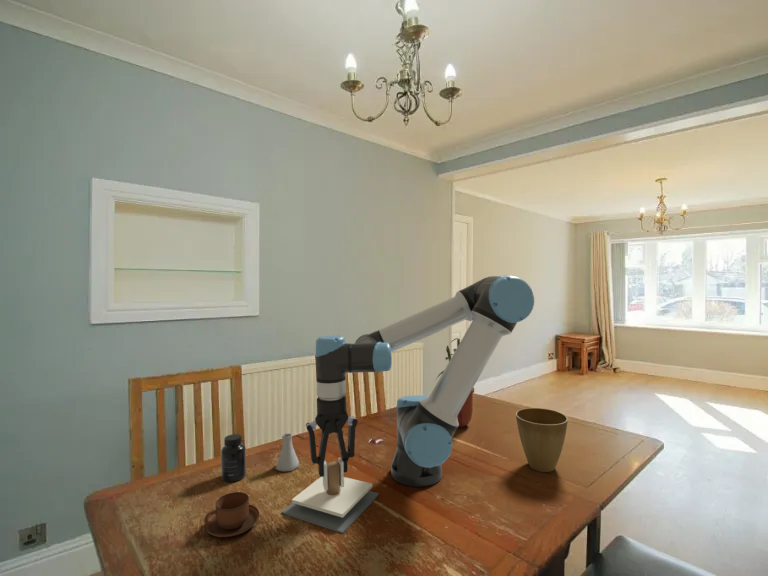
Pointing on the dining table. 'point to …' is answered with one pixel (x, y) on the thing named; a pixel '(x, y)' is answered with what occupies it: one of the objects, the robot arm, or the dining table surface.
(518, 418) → the plant pot
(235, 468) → the supplement bottle
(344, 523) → the mat
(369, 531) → the dining table surface
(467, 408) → the potted plant
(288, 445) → the flask
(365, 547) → the dining table surface
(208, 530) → the cup and saucer
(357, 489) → the board
